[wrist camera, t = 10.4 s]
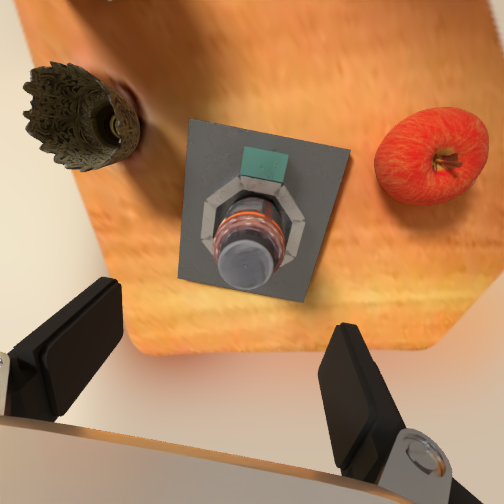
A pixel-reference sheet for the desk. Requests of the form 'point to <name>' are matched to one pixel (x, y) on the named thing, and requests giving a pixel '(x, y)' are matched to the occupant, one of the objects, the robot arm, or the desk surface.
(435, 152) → the apple
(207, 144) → the hub plate
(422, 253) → the desk surface
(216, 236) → the supplement bottle
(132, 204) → the desk surface
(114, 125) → the cup
